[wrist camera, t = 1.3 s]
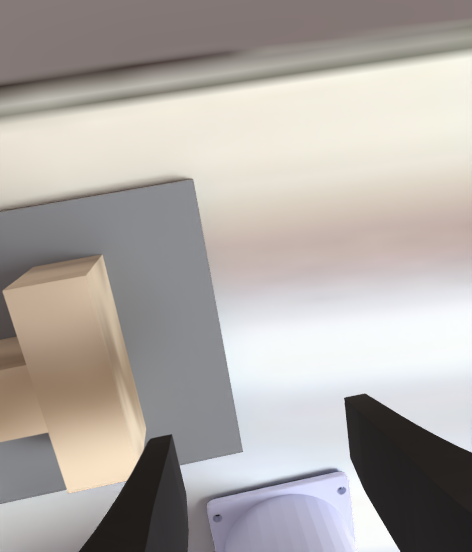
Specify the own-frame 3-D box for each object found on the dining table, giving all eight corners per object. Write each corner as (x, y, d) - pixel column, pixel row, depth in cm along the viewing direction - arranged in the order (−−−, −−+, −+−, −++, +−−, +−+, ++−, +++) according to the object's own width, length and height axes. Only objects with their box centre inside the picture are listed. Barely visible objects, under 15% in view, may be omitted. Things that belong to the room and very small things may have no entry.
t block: (146, 428, 22) (139, 478, 19) (-40, 467, 22) (-81, 525, 18) (102, 254, 20) (86, 275, 16) (-110, 292, 19) (-173, 322, 16)
